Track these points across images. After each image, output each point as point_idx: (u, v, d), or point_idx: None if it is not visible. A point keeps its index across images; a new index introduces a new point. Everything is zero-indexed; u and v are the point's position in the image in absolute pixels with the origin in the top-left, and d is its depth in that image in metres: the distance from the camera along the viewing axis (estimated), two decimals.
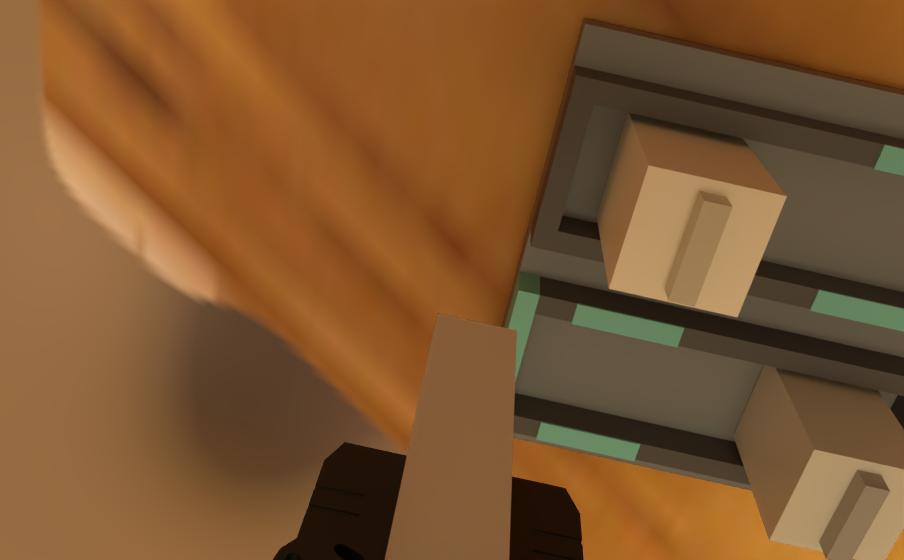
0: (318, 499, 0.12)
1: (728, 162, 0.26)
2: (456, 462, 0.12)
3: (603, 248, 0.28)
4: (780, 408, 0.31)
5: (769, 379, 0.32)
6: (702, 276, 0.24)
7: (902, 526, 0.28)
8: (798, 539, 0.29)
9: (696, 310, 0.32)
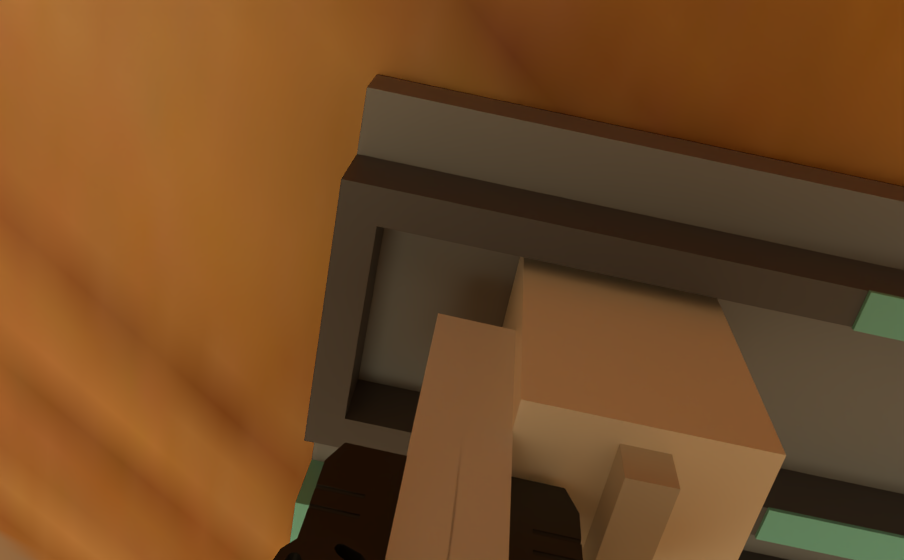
0: (319, 499, 0.12)
1: (680, 361, 0.14)
2: (456, 462, 0.12)
3: None
4: None
5: None
6: None
7: None
8: None
9: None
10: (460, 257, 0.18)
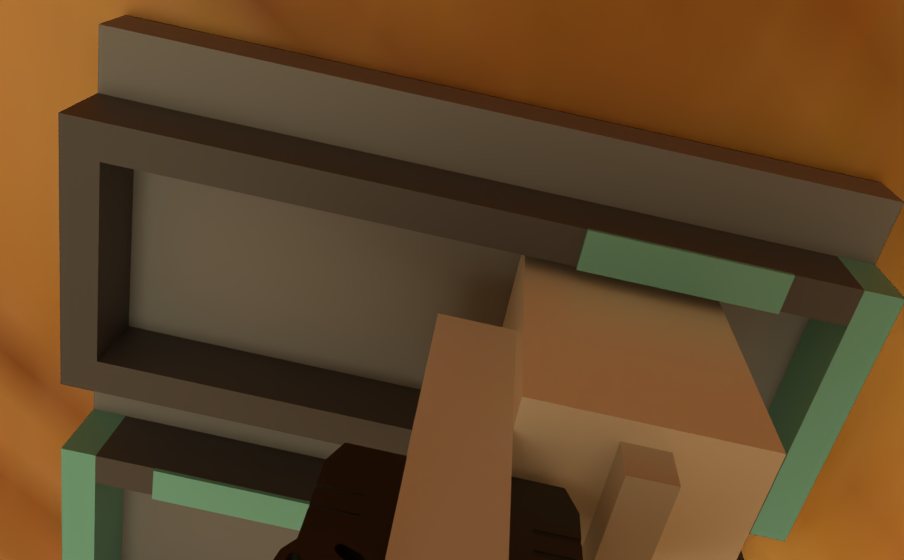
0: (318, 499, 0.12)
1: (681, 360, 0.14)
2: (456, 462, 0.12)
3: None
4: None
5: None
6: None
7: None
8: None
9: None
10: (212, 200, 0.18)
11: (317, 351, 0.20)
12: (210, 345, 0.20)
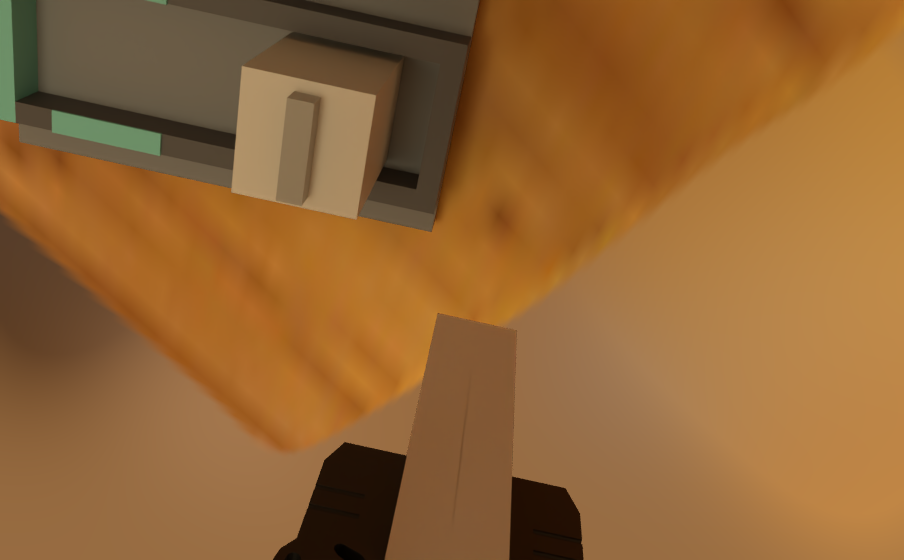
0: (318, 499, 0.12)
1: None
2: (456, 462, 0.12)
3: None
4: None
5: None
6: None
7: (362, 166, 0.26)
8: (261, 189, 0.26)
9: None
10: None
11: None
12: None
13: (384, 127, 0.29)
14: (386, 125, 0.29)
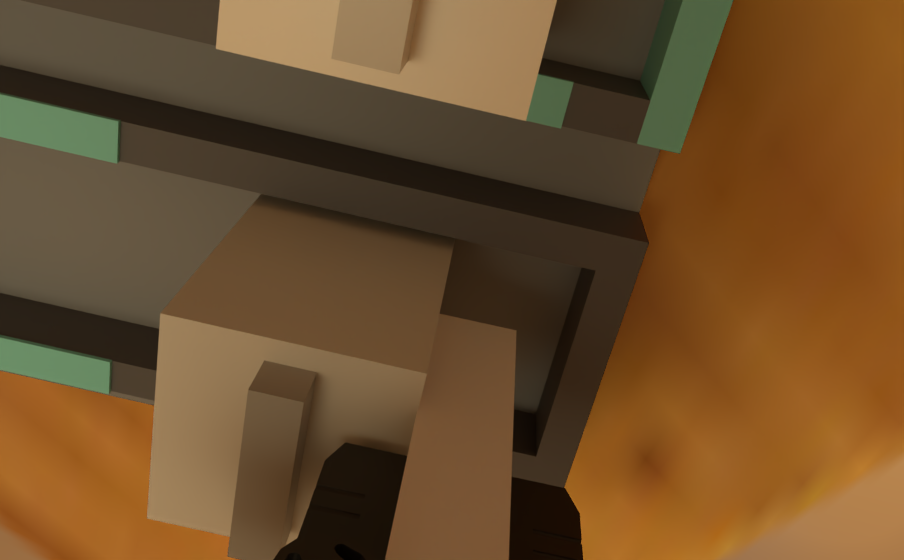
0: (319, 499, 0.12)
1: None
2: (456, 462, 0.12)
3: None
4: None
5: None
6: None
7: None
8: (202, 516, 0.14)
9: (189, 107, 0.17)
10: None
11: None
12: None
13: None
14: None
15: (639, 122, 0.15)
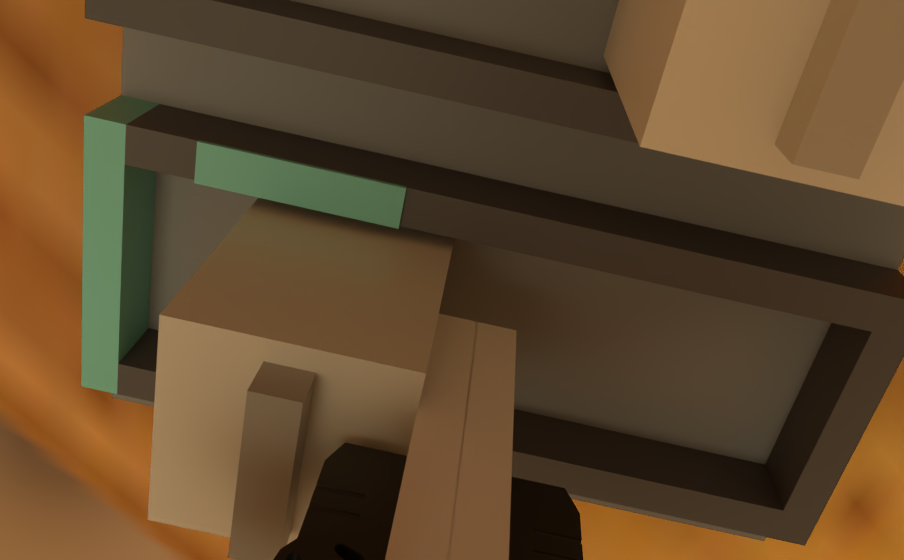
0: (318, 499, 0.12)
1: None
2: (456, 462, 0.12)
3: (621, 87, 0.13)
4: None
5: None
6: (886, 95, 0.09)
7: None
8: (203, 517, 0.14)
9: (452, 168, 0.17)
10: None
11: (397, 1, 0.16)
12: None
13: None
14: None
15: None
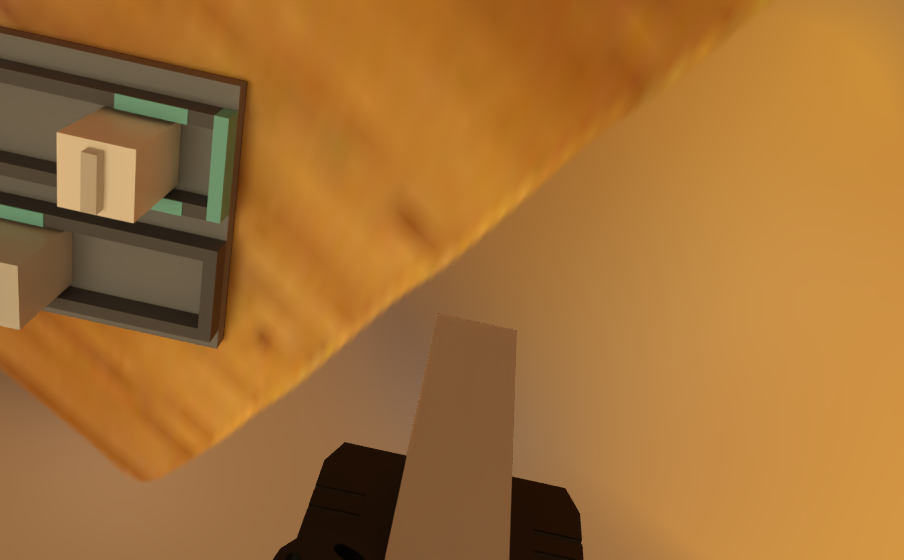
0: (318, 499, 0.12)
1: (130, 132, 0.43)
2: (456, 462, 0.12)
3: None
4: None
5: None
6: (94, 196, 0.42)
7: (17, 301, 0.46)
8: None
9: None
10: None
11: (41, 152, 0.49)
12: None
13: (51, 271, 0.49)
14: (56, 268, 0.49)
15: (205, 214, 0.48)
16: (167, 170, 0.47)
